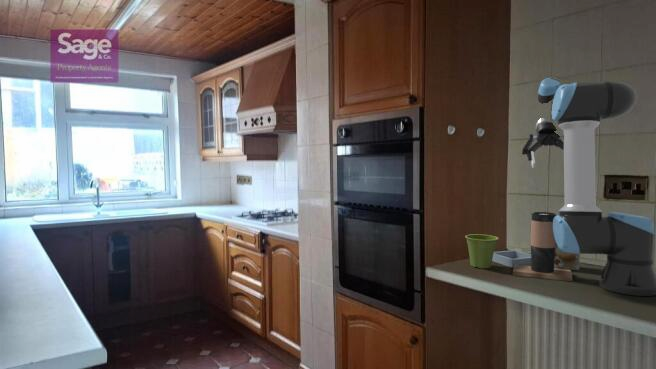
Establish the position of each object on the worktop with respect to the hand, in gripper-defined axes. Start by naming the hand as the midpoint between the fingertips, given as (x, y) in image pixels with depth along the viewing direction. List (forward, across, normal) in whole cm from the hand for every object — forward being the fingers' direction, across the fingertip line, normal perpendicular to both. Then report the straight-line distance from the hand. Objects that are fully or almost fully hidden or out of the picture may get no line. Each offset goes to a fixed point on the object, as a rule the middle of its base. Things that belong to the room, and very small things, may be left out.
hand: (553, 165), depth 162 cm
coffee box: (+30, -3, -24) cm, 38 cm away
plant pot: (+34, +26, -20) cm, 47 cm away
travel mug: (+37, +6, -14) cm, 40 cm away
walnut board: (+38, +6, -15) cm, 42 cm away
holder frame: (+26, +13, -27) cm, 40 cm away
